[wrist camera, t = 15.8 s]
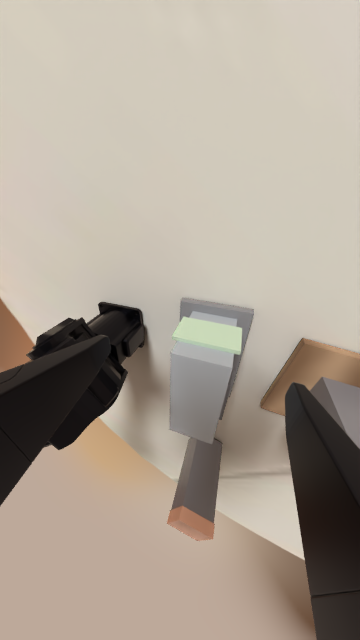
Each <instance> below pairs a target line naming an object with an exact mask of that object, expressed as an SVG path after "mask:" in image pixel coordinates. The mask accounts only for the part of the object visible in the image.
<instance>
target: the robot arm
mask: <svg viewBox="0 0 360 640" xmlns="http://www.w3.org/2000/svg"><path fill="white" fill-rule="evenodd" d="M102 305H103V306H102ZM98 306H99V311H100V314H99V315H97V316H96V317H95V318H93V319H92V320H91V321H89V322H88V323H87V324H86V323H85V320H84V319H83V318H80V319H78V320H76V319H75V320H73V319H71V318H68V319H66V320H64V321H63V322H61V323H60V324H58V325H56V326H55V327H53V328H51V329H50V330H48V331H47V332H45V333H43V334H42V335H40V336H39V337H37V341H36V345H35V346H34V347H33V350H32V351H30V352H29V353H28V354H26V355H27V356H28V357H29V358H30V359H31V360H30V361H29V362H27V363H25V364H23V365H20V366H17V367H15V368H12V369H9V370H7V371H4V372H1V373H0V505H1V504H2V503H3V502H4V500H5V499H6V497H7V496H8V495H9V493H10V492H11V491H12V489H13V488H14V487H15V485H16V484H17V483H18V481H19V480H20V478H21V477H22V476H23V474H24V473H25V472H26V470H27V469H28V468H29V466H30V465H31V464H32V462H33V461H34V459H35V458H36V457H37V455H38V454H39V453H40V451H41V450H42V448H44V447H47V446H49V445H53V446H54V447H55V448H57V449H58V450H60V449H62V448H64V447H66V446H68V445H70V444H72V443H73V442H74V441H75V440H76V439H77V438H78V437H79V435H80V434H81V433H82V432H83V431H84V430H85V428H86V427H87V426H88V425H89V424H90V423H91V422H92V421H93V420H94V419H96V418H97V417H98V416H100V415H102V414H103V413H104V412H106V411H107V410H108V409H109V408H110V407H111V406H112V405H113V403H114V402H115V401H116V399H117V397H118V395H119V393H120V390H121V388H122V386H123V383H124V381H125V378H126V376H127V374H128V372H127V370H126V369H124V368H123V367H122V366H121V364H122V362H123V361H124V360H125V359H126V357H130V356H131V355H132V354H133V353H134V352H135V350H136V349H137V348H138V347H143V345H144V329H143V324H142V315H141V311H140V310H139V309H137V308H132V307H127V306H122V305H117V304H112V303H106V302H100V303H99V304H98ZM137 312H138V313H137ZM285 422H286V438H287V445H288V452H289V458H290V465H291V471H292V478H293V485H294V491H295V498H296V504H297V511H298V518H299V524H300V531H301V537H302V544H303V551H304V557H305V564H306V570H307V577H308V584H309V590H310V595H311V604H312V611H313V618H314V624H315V631H316V637H317V640H360V448H359V447H358V446H357V445H356V444H355V443H354V442H353V440H352V439H351V438H350V437H349V436H348V435H347V433H346V432H345V431H344V430H343V429H342V428H341V427H340V425H339V424H338V423H337V422H336V421H335V420H334V419H333V417H332V416H331V415H330V414H329V413H328V412H327V410H326V409H325V408H324V407H323V406H322V405H321V404H320V402H319V401H318V400H317V399H316V398H315V397H314V395H313V394H312V393H311V392H310V391H309V390H308V389H307V387H306V386H305V385H303V384H300V383H296V382H292V383H291V385H290V387H289V389H288V390H287V392H286V394H285Z"/></svg>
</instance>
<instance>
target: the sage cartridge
mask: <svg viewBox="0 0 360 640" xmlns="http://www.w3.org/2000/svg"><path fill="white" fill-rule="evenodd" d="M310 392H311V393H312V394H313V395H314V397H315V398H316V399H317V400H318V401H319V402H320V404H321V405H322V406H323V407H324V408H325V409H326V410H327V412H328V413H329V414H330V415H331V416H332V417H333V419H334V420H335V421H336V422H337V423H338V424H339V425H340V427H341V428H342V429H343V430H344V431H345V432H346V433H347V435H348V436H349V437H350V438H351V439H352V440H353V442H354V443H355V444H356V445H357V446H358V447H359V448H360V388H359V387H355V386H352V385H349V384H345V383H342V382H339V381H336V380H332V379H329V378H326V377H321V378H320V380H319V381H318V382H317V383H316V384H315V385H314V387H313V388H312V389H311V390H310Z"/></svg>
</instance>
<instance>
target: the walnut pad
mask: <svg viewBox="0 0 360 640" xmlns="http://www.w3.org/2000/svg"><path fill="white" fill-rule="evenodd" d="M321 377H326V378H329V379H332V380H336V381H339V382H342V383H345V384H349V385H352V386H355V387H359V388H360V354H359V353H355V352H351V351H348V350H344V349H340V348H337V347H333V346H330V345H326V344H322V343H319V342H315V341H312V340H308V339H304V338H302V340H301V341H300V343H299V344H298V346H297V347H296V349H295V350H294V352H293V353H292V355H291V356H290V358H289V359H288V361H287V363H286V364H285V366H284V367H283V369H282V370H281V372H280V373H279V375H278V376H277V378H276V379H275V381H274V382H273V384H272V385H271V387H270V388H269V390H268V391H267V393H266V394H265V396H264V398H263V399H262V401H261V408H263V409H266V410H269V411H272V412H275V413H278V414H280V415H283V416H285V394H286V392H287V390H288V389H289V387H290V385H291V383H292V382H296V383H300V384H303V385H305V386H306V387H307V389H308V390H309V391H310V390H311V389H312V388H313V387H314V385H315V384H316V383H317V382H318V381H319V380H320V378H321Z"/></svg>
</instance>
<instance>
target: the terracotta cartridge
mask: <svg viewBox="0 0 360 640" xmlns="http://www.w3.org/2000/svg"><path fill="white" fill-rule="evenodd" d="M221 451H222V443H221V442H219V441H217V440H215V439H213V443H212V444H209V443H206V442H204V441H201V440H198V439H195V438H190V439H189V442H188V445H187V449H186V453H185V457H184V461H183V465H182V469H181V473H180V477H179V481H178V485H177V489H176V493H175V497H174V501H173V505H172V509H171V510H170V514H169V517H168V522H167V524H169V525H170V526H172V527H174V528H176V529H178V530H179V531H181V532H183V533H185V534H186V535H188V536H190V537H191V538H193V539H195V540H197V541H200V540H210V539H213V534H214V516H215V507H216V497H217V488H218V479H219V470H220V460H221Z"/></svg>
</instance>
